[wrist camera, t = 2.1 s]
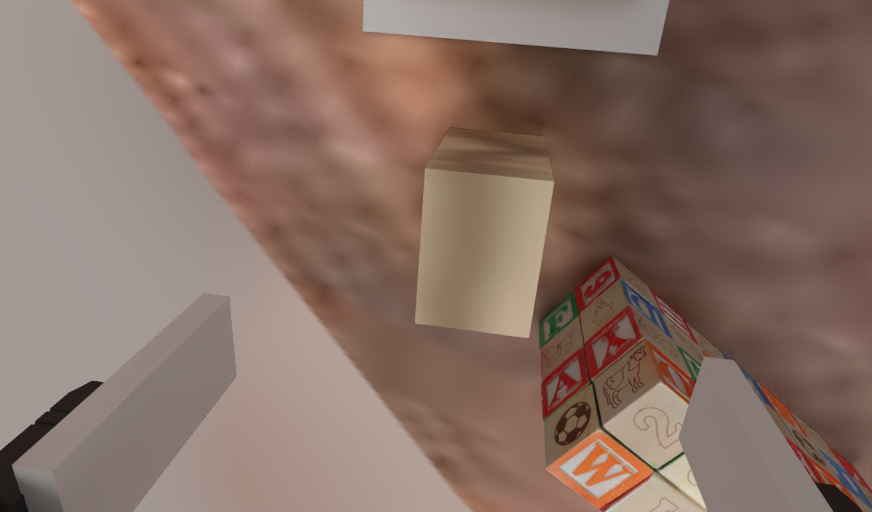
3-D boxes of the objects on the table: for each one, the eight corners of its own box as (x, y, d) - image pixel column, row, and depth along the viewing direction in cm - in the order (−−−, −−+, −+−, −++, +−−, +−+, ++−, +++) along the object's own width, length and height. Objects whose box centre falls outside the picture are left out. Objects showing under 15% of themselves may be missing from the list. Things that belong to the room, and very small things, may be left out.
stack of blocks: (855, 463, 35) (1018, 676, 23) (770, 513, 37) (881, 728, 26) (610, 252, 31) (663, 382, 20) (534, 322, 34) (543, 473, 22)
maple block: (543, 136, 29) (554, 181, 21) (525, 257, 32) (528, 338, 24) (450, 127, 30) (424, 168, 21) (440, 246, 32) (414, 323, 24)
